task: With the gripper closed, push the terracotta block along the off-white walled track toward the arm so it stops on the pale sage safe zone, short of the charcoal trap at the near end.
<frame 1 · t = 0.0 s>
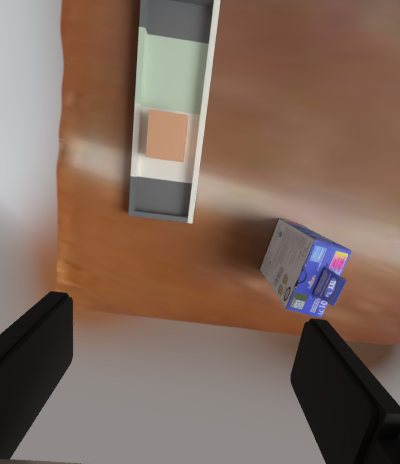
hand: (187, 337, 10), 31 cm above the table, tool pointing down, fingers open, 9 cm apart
ink cartridge box: (283, 248, 42), on the table
terracotta block: (169, 139, 37), resting on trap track
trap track: (171, 118, 36), on the table
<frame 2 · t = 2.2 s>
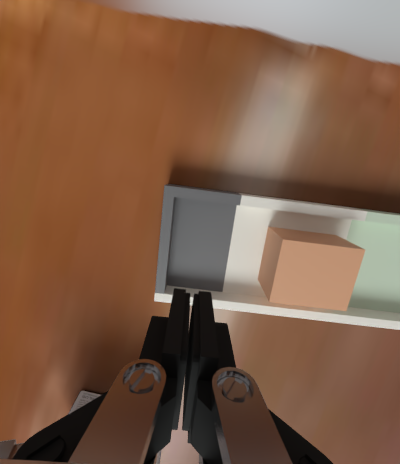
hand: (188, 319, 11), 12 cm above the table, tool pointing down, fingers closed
ink cartridge box: (120, 414, 27), on the table
terracotta block: (295, 257, 22), resting on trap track
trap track: (326, 260, 22), on the table
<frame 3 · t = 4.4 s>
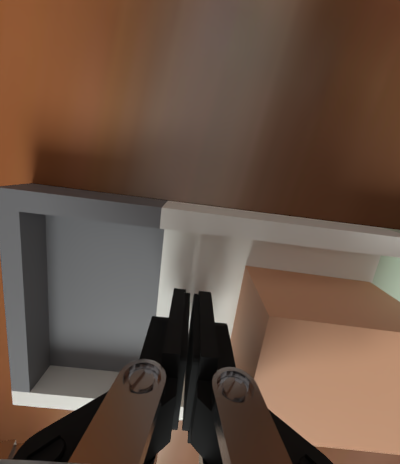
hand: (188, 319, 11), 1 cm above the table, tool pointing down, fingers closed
terracotta block: (295, 320, 12), resting on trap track, touching gripper
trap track: (333, 319, 13), on the table
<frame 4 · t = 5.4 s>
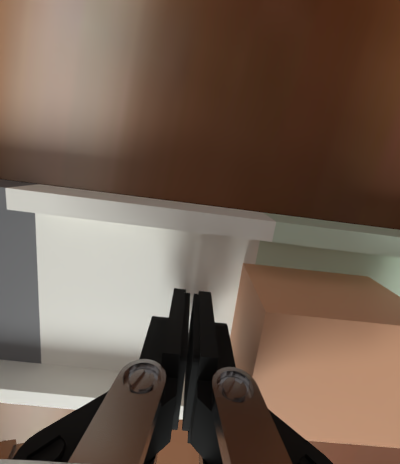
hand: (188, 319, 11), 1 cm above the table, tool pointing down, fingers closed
terracotta block: (294, 316, 12), resting on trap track, touching gripper
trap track: (224, 306, 12), on the table
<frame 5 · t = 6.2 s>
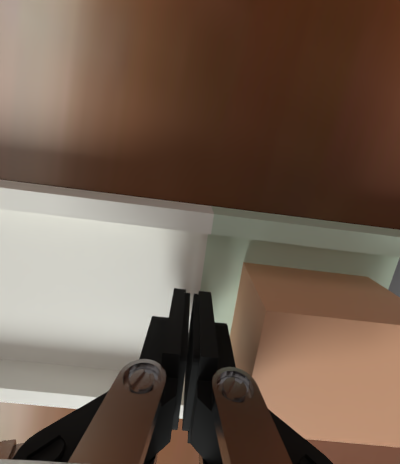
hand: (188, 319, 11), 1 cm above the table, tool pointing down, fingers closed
terracotta block: (294, 316, 12), resting on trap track, touching gripper
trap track: (177, 301, 12), on the table
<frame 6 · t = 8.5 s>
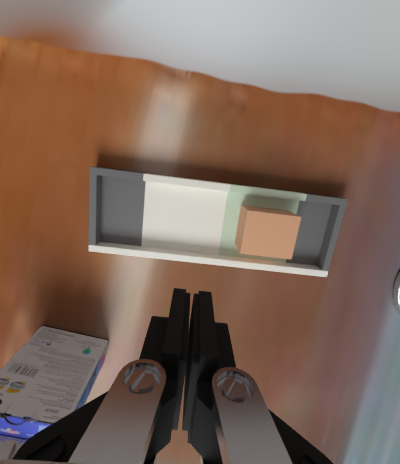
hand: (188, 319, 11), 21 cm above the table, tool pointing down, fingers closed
ink cartridge box: (73, 346, 36), on the table
terracotta block: (260, 227, 31), resting on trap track
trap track: (214, 222, 31), on the table
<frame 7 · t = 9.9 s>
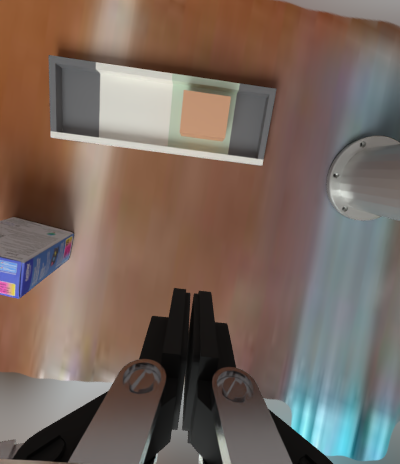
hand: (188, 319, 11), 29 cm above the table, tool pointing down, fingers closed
ink cartridge box: (42, 239, 40), on the table
terracotta block: (203, 120, 35), resting on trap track
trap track: (163, 116, 36), on the table
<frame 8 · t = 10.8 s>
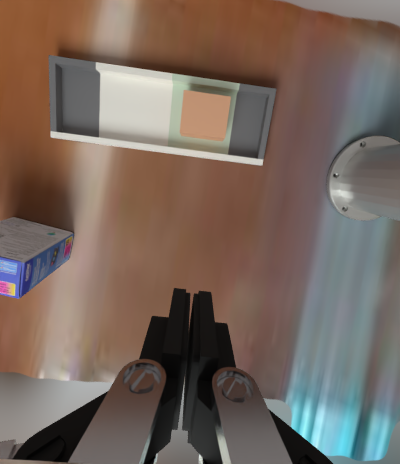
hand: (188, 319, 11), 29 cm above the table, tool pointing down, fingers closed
ink cartridge box: (42, 239, 40), on the table
terracotta block: (203, 120, 35), resting on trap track
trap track: (163, 116, 36), on the table
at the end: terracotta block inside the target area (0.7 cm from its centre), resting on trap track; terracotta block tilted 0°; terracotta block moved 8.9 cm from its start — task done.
